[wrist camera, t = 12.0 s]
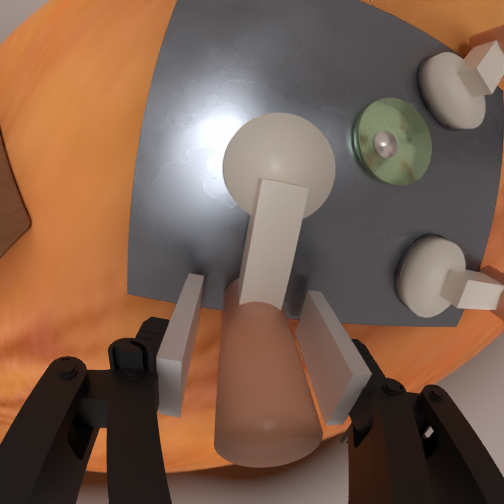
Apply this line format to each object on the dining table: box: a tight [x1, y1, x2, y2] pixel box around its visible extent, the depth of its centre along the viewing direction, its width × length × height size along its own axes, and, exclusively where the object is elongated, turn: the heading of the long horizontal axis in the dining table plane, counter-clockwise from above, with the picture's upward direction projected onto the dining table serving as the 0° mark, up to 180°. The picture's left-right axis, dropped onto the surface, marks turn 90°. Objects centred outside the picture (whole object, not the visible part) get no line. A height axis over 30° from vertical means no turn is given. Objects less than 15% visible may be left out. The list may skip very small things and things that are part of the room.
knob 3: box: [398, 237, 504, 321], centre depth 11 cm, size 11×5×9 cm, turn 80°
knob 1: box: [214, 113, 335, 467], centre depth 9 cm, size 11×5×9 cm, turn 170°
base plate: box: [128, 0, 504, 327], centre depth 13 cm, size 24×20×2 cm
